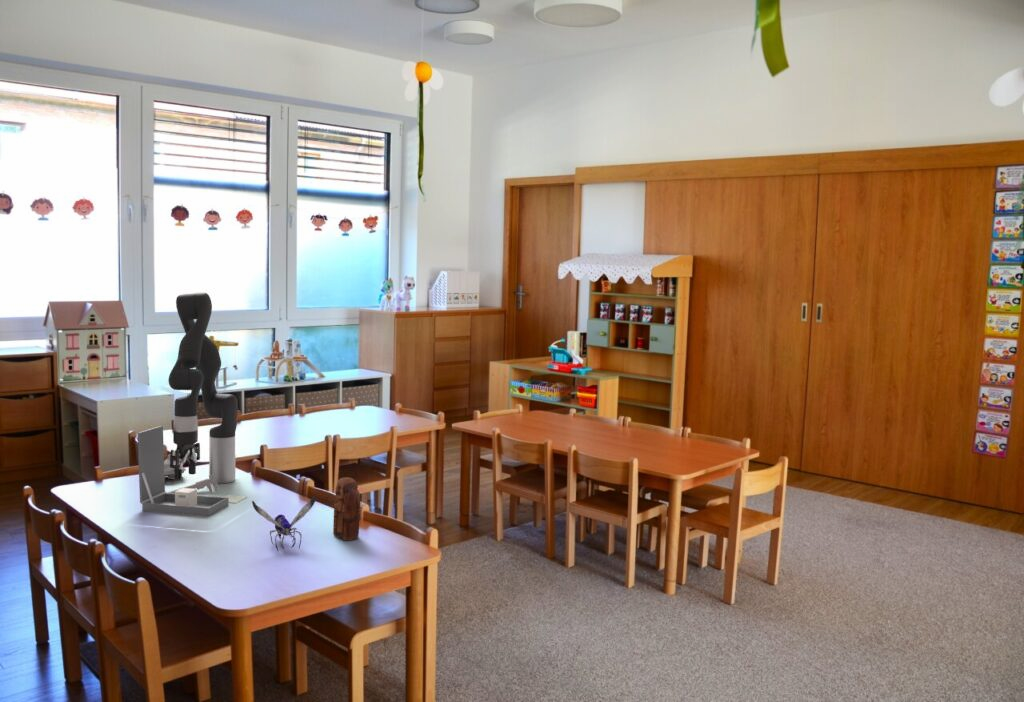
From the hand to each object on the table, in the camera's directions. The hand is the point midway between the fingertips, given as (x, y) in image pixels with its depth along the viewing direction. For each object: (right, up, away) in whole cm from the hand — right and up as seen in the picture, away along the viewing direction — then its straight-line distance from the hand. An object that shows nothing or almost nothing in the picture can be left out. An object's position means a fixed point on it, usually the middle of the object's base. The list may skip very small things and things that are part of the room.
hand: (185, 477), depth 271 cm
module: (0, -11, +1) cm, 11 cm away
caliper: (-7, -10, +19) cm, 22 cm away
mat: (+11, -10, +13) cm, 20 cm away
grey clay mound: (-21, -7, +38) cm, 44 cm away
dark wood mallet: (+57, -15, -20) cm, 62 cm away
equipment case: (0, -11, +1) cm, 11 cm away
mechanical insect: (+41, -16, -29) cm, 53 cm away
